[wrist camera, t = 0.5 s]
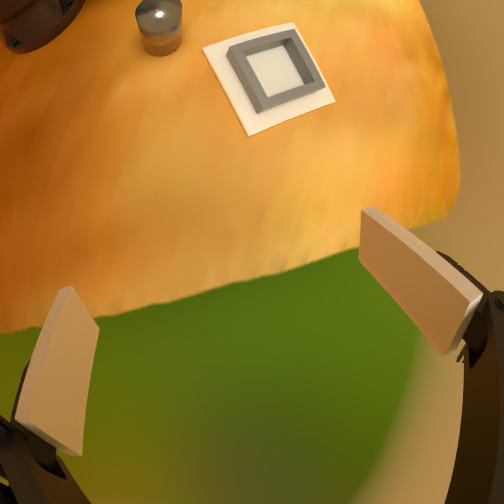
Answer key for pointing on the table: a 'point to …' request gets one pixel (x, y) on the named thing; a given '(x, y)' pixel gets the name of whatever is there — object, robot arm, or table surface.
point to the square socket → (268, 76)
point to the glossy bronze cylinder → (160, 25)
